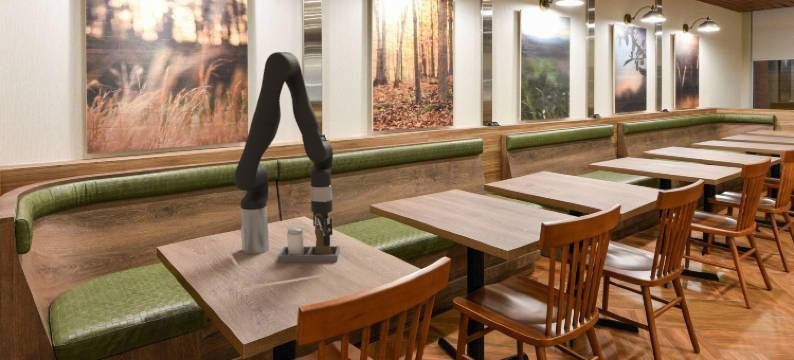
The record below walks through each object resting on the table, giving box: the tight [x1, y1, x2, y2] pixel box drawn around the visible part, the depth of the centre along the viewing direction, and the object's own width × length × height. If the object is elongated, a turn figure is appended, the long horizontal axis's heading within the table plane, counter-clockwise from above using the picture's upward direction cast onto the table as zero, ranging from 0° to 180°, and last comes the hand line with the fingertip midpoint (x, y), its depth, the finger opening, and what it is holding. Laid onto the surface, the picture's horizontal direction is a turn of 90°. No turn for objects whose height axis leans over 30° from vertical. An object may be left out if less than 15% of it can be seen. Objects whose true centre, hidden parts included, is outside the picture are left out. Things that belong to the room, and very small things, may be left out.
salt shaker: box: [286, 227, 305, 255], centre depth 194 cm, size 6×6×10 cm
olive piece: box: [314, 226, 331, 255], centre depth 194 cm, size 6×6×11 cm
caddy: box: [277, 245, 341, 263], centre depth 195 cm, size 20×11×3 cm, turn 91°
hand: (323, 242), depth 194 cm, fingers open, 8 cm apart
